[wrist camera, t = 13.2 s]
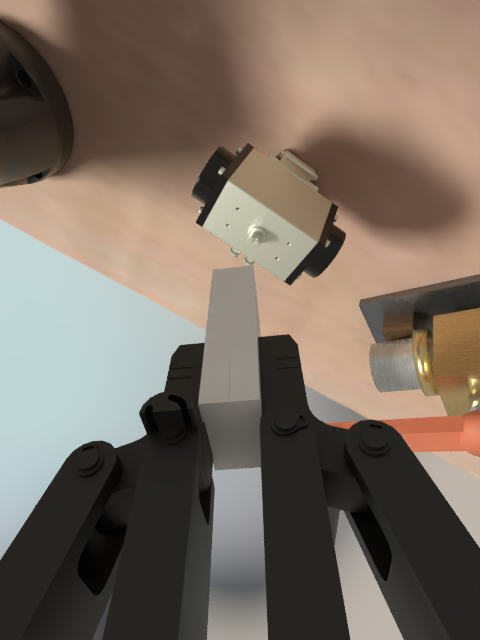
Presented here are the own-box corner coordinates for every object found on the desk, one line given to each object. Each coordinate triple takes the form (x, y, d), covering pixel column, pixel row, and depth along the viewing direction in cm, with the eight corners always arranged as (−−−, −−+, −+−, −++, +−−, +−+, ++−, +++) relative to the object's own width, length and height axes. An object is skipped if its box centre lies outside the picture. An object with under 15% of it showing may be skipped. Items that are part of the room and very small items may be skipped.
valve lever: (507, 406, 30) (534, 575, 22) (517, 439, 32) (545, 605, 24) (302, 419, 40) (270, 542, 32) (319, 444, 42) (292, 566, 34)
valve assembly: (386, 357, 49) (376, 455, 40) (360, 300, 45) (342, 395, 36) (605, 328, 38) (660, 455, 29) (598, 249, 34) (660, 368, 25)
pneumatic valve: (250, 113, 36) (196, 169, 27) (359, 191, 37) (339, 266, 29) (223, 164, 40) (169, 227, 31) (322, 233, 41) (295, 310, 33)
